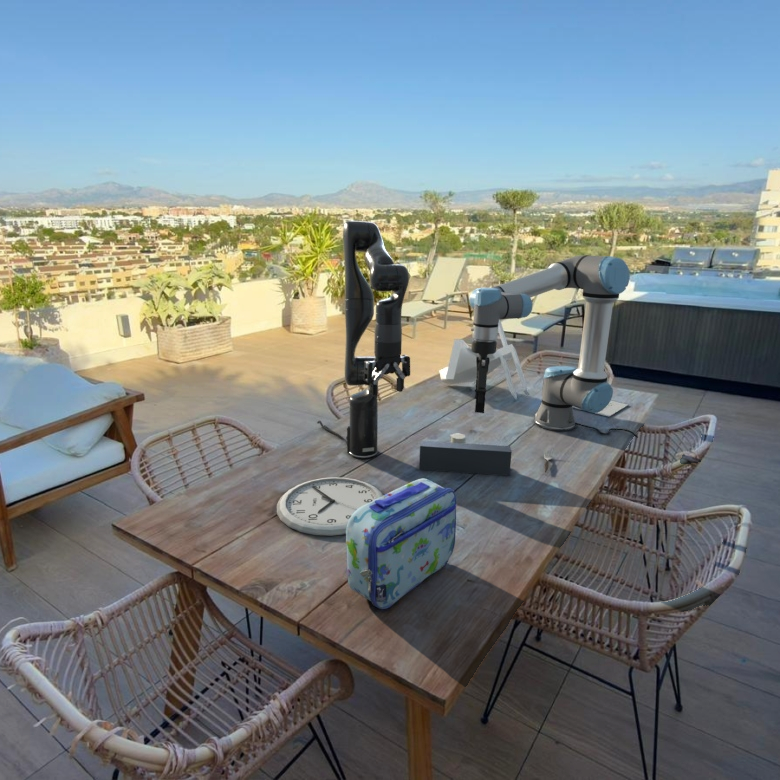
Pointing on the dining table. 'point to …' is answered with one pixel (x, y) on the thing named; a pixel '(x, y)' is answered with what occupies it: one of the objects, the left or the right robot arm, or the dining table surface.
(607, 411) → the invitation card
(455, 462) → the bar
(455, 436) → the off-white cylinder
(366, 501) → the wall clock
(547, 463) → the fork
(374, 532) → the lunch box
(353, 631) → the dining table surface
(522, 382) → the white plastic object
